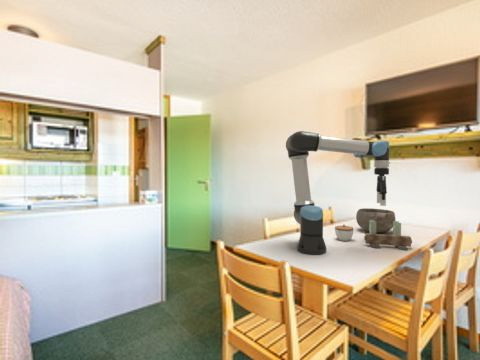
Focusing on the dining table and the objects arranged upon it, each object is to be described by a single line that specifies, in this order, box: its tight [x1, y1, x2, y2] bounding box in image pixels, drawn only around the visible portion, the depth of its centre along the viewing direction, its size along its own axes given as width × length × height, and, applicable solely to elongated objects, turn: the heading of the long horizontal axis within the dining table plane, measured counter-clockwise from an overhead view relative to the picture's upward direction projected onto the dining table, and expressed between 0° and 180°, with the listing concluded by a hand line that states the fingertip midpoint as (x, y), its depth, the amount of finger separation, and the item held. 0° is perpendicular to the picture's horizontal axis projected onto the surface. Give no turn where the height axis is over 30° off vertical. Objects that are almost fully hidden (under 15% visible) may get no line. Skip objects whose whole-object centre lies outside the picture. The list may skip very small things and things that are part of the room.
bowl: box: [355, 207, 396, 234], centre depth 185 cm, size 24×24×15 cm
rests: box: [369, 244, 408, 251], centre depth 149 cm, size 17×9×2 cm, turn 72°
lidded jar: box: [334, 224, 354, 242], centre depth 165 cm, size 11×11×9 cm
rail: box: [363, 232, 413, 248], centre depth 148 cm, size 23×4×5 cm, turn 72°
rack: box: [368, 220, 402, 236], centre depth 160 cm, size 17×6×12 cm, turn 72°
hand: (381, 204), depth 155 cm, fingers open, 13 cm apart
